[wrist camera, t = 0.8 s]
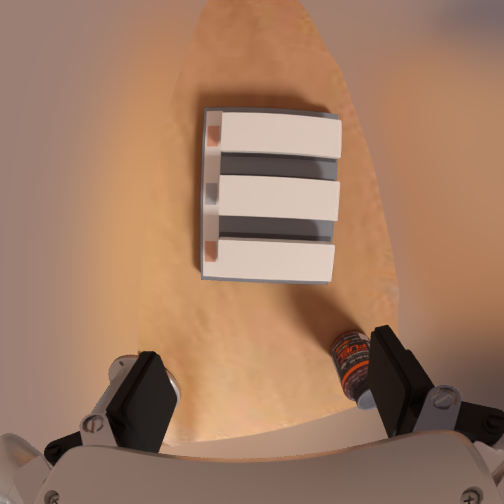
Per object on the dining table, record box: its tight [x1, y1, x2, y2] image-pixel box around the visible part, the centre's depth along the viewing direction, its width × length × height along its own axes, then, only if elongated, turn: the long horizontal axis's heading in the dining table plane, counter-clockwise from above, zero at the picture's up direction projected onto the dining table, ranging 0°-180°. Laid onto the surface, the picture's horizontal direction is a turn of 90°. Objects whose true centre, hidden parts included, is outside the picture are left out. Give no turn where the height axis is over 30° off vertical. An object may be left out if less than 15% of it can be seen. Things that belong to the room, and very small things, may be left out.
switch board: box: [200, 107, 338, 285], centre depth 30 cm, size 20×15×2 cm
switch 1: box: [221, 112, 341, 159], centre depth 26 cm, size 4×12×2 cm, turn 88°
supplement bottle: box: [331, 331, 377, 410], centre depth 30 cm, size 6×6×11 cm
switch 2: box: [218, 237, 335, 281], centre depth 29 cm, size 4×12×2 cm, turn 88°
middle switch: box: [219, 175, 340, 221], centre depth 27 cm, size 4×12×2 cm, turn 88°
